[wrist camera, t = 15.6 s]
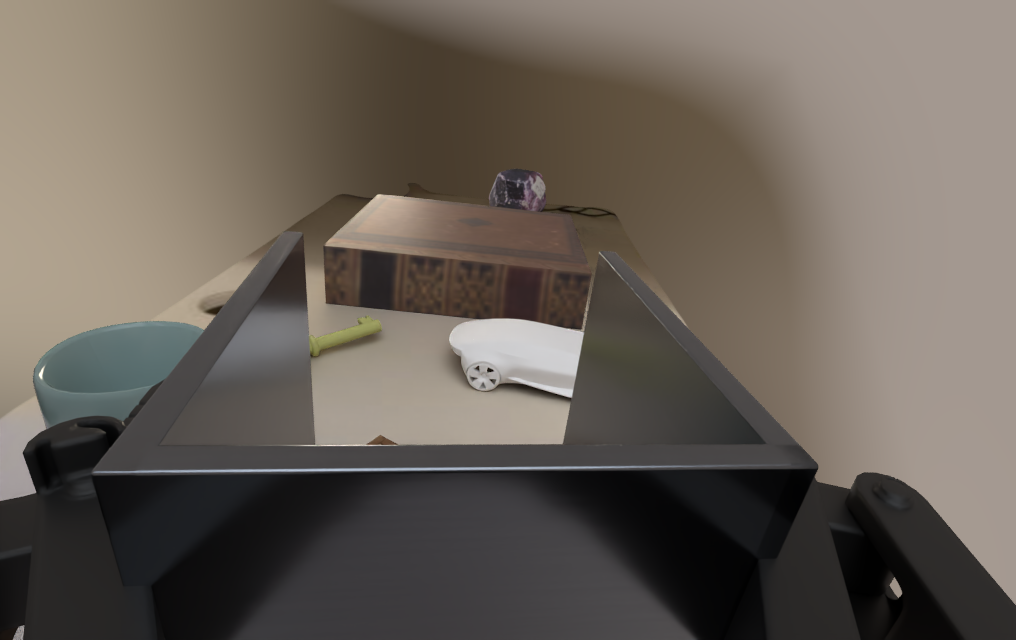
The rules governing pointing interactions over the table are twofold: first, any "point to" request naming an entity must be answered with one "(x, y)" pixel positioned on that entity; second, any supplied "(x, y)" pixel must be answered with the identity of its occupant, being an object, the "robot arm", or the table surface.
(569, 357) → the toy car
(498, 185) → the mineral specimen
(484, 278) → the book
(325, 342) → the key
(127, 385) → the cup
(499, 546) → the grey open-sided box
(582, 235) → the table surface
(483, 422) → the table surface
